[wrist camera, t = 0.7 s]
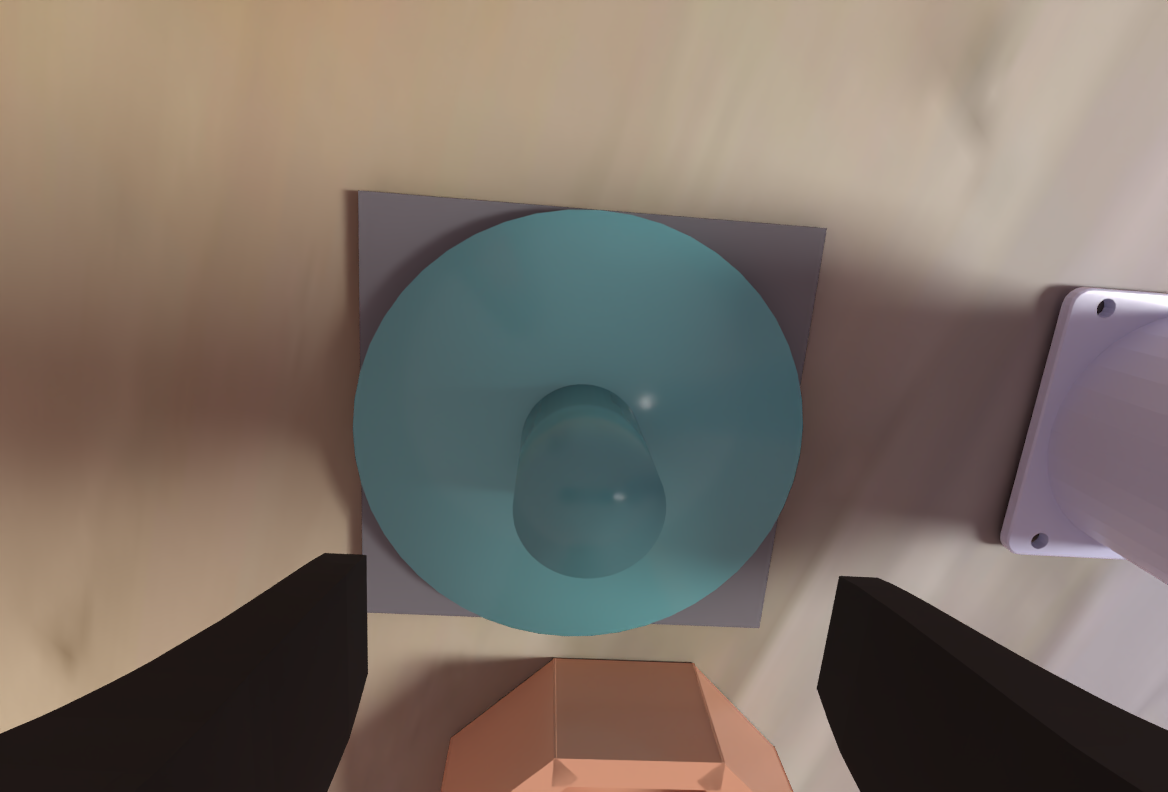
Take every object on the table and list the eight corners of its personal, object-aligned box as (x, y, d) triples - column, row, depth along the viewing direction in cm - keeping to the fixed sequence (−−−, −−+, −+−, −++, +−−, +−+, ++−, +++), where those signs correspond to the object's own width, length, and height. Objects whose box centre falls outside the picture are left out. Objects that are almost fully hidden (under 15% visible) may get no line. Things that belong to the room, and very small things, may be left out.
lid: (826, 228, 18) (929, 237, 13) (758, 627, 21) (821, 755, 16) (358, 190, 17) (281, 185, 12) (362, 611, 20) (304, 739, 15)
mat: (820, 227, 18) (826, 228, 18) (755, 620, 21) (758, 628, 21) (362, 190, 17) (358, 190, 17) (366, 604, 20) (362, 612, 20)
